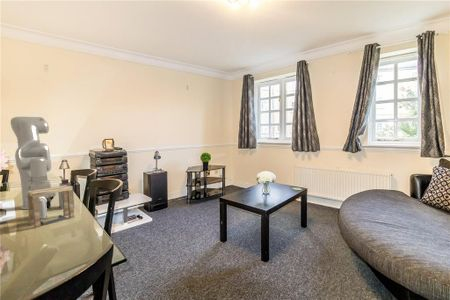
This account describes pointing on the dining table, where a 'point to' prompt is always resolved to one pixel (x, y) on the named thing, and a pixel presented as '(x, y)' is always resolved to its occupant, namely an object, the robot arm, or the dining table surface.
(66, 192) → the wooden display stand
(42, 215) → the photo printer
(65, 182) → the beige rectangular block
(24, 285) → the dining table surface
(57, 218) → the seat guides
